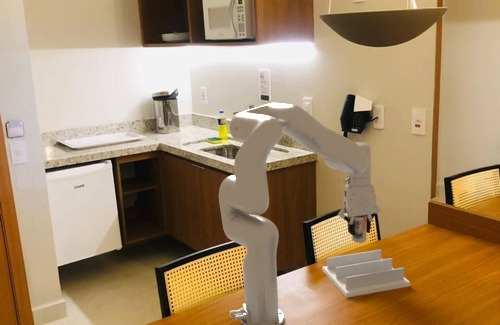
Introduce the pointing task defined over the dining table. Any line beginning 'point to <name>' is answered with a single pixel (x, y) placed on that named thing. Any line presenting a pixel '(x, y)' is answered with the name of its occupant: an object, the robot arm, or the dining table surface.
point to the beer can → (360, 229)
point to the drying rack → (364, 273)
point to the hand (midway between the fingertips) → (359, 232)
